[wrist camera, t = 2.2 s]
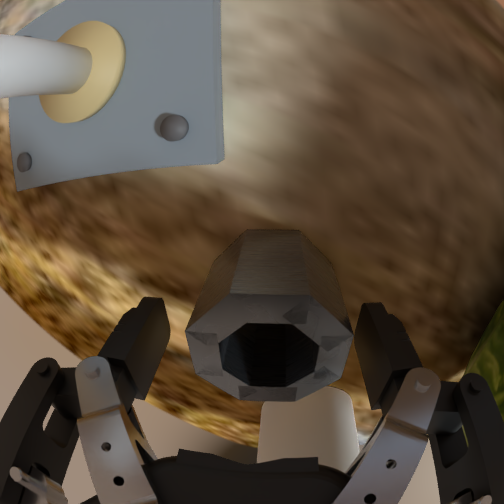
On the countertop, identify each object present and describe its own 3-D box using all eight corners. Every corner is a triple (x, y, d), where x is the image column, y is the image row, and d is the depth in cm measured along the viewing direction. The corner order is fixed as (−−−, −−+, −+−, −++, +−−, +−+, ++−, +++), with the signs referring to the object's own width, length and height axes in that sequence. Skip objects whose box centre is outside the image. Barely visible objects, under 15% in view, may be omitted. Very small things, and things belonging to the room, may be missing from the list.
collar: (334, 230, 12) (363, 294, 8) (322, 326, 15) (332, 400, 10) (211, 229, 13) (176, 290, 8) (220, 323, 15) (202, 396, 11)
